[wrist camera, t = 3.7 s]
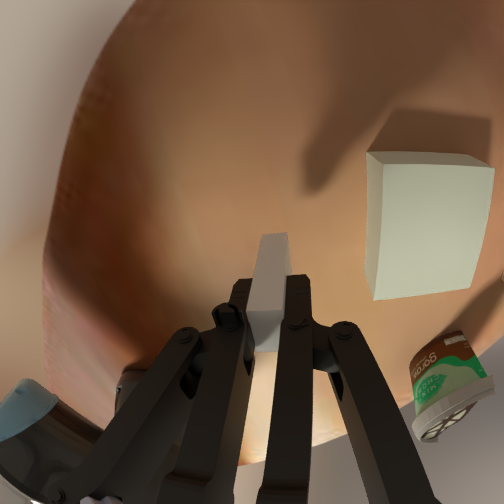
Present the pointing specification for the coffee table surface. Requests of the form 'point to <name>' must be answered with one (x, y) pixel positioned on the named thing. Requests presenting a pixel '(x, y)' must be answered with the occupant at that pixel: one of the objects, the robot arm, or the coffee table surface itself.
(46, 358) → the coffee table surface
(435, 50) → the coffee table surface
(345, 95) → the coffee table surface
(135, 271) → the coffee table surface
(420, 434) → the food container
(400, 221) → the block
